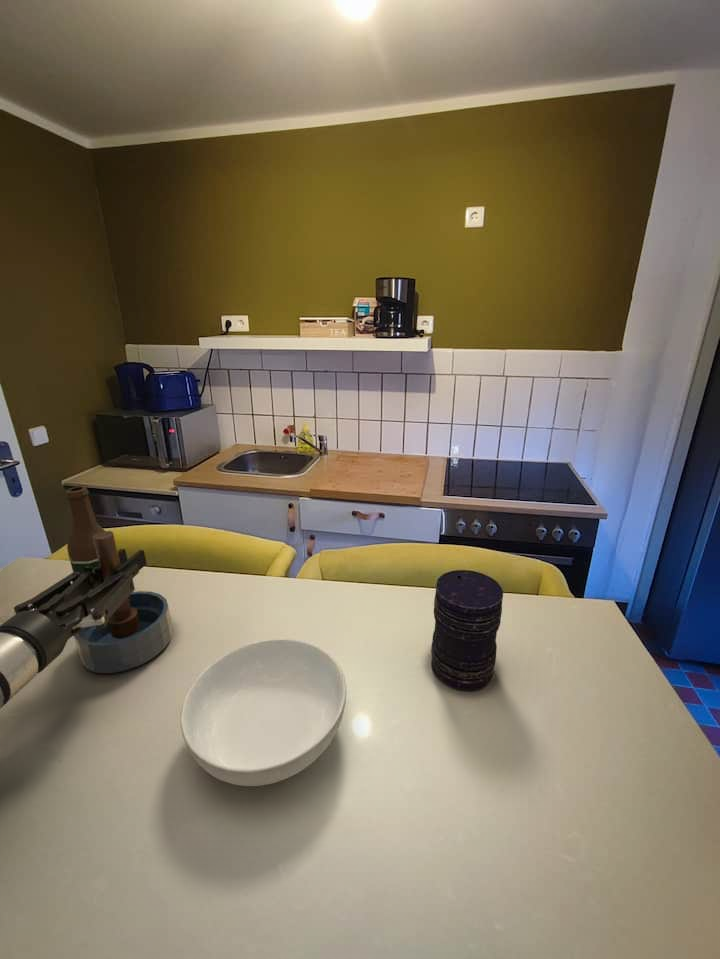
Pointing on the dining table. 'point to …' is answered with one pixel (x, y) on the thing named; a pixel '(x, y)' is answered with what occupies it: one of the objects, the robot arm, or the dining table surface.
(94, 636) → the blue round dish
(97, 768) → the dining table surface
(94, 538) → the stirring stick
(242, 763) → the serving bowl
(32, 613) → the robot arm
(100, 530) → the beer bottle
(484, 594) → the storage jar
